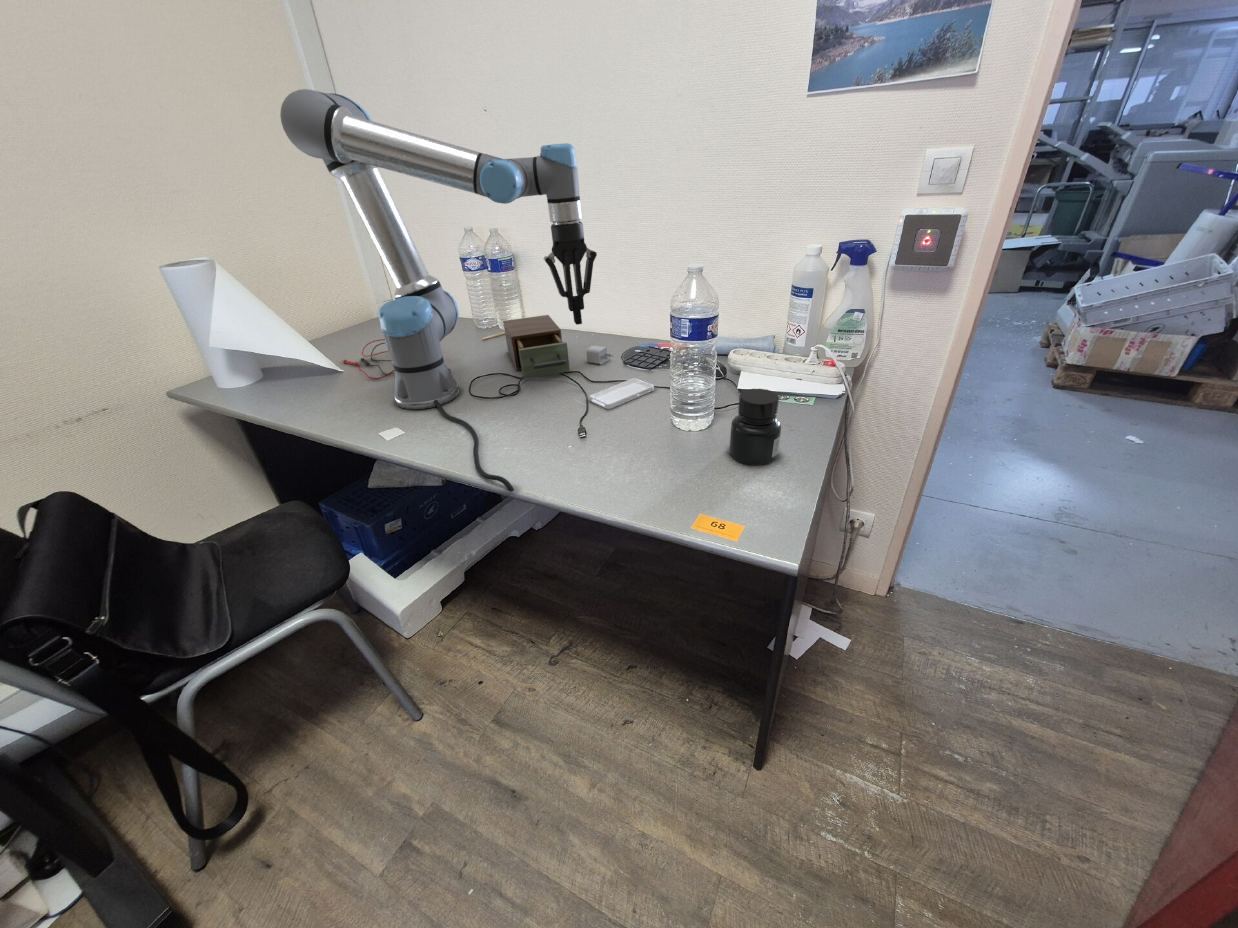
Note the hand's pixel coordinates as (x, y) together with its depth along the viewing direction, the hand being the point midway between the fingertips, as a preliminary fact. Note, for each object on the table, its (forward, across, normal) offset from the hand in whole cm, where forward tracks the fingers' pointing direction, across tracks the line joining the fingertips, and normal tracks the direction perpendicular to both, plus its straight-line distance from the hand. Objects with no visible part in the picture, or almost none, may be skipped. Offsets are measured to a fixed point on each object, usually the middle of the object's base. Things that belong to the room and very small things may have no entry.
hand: (578, 322), depth 129 cm
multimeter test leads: (+12, +51, -31) cm, 61 cm away
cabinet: (+13, +10, -17) cm, 24 cm away
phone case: (+14, -5, +19) cm, 24 cm away
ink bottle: (+14, -20, +55) cm, 60 cm away
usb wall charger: (+14, -6, -5) cm, 16 cm away
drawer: (+12, +10, -4) cm, 16 cm away
